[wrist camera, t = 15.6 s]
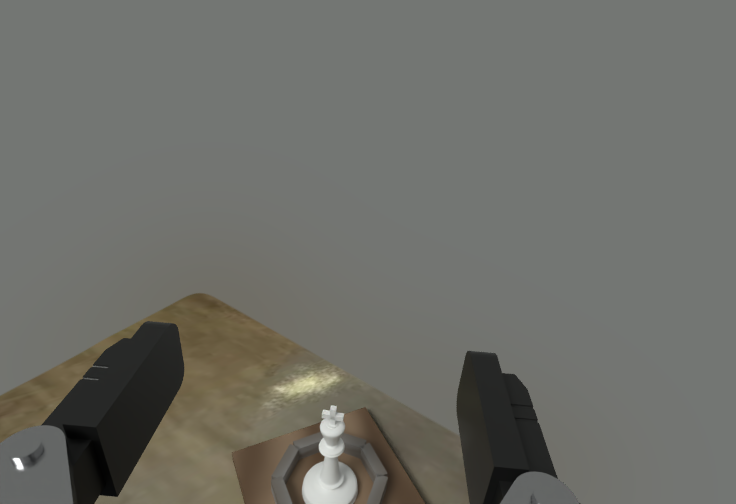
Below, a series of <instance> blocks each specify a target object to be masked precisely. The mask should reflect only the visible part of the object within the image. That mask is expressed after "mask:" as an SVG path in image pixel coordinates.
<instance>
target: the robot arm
mask: <svg viewBox="0 0 736 504" xmlns="http://www.w3.org/2000/svg"><path fill="white" fill-rule="evenodd" d="M183 376H184V362H183V356H182V350H181V343H180V337H179V331H178V327H177V326H176V324H172V323H161V322H150V321H147V322H145V323H143V325H142V326H141V327H140V328H139V329H138V331H137V332H136V333H135V334H134V336H133V337H132V338H131V339H128V338H123V339H122V340H120V341H119V342H117V343H115V344H114V345H112V346H111V347H109V348H108V349H106V350H105V351H104V352H103V354H102V355H101V356H100V357H99V358H98V359H97V361H96V362H95V363H94V364H93V367H91V368H90V369H89V370H88V371H87V372H86V373H85V375H84V376H83V379H82V380H80V381H79V382H78V383H77V384H76V385H75V386H74V388H73V389H72V390H71V391H70V392H69V393H68V395H67V396H66V397H65V398H64V399H63V400H62V402H61V403H60V404H59V405H58V406H57V407H56V409H55V410H54V411H53V412H52V413H51V415H50V416H49V417H48V418H47V419H46V420H45V422H44V423H43V424H42V425H41V426H35V427H31V428H27V429H24V430H22V431H19V432H17V433H15V434H13V435H12V436H10V437H8V438H7V439H5V440H4V441H3V442H1V443H0V504H94V503H95V501H96V500H97V498H98V496H99V495H104V496H115V497H118V495H119V494H120V492H121V490H122V488H123V487H124V485H125V483H126V481H127V480H128V478H129V476H130V474H131V473H132V471H133V469H134V467H135V466H136V464H137V462H138V460H139V459H140V457H141V455H142V453H143V452H144V450H145V448H146V446H147V445H148V443H149V441H150V439H151V438H152V436H153V434H154V432H155V431H156V429H157V427H158V425H159V424H160V422H161V420H162V418H163V417H164V415H165V413H166V411H167V410H168V408H169V406H170V404H171V403H172V401H173V399H174V397H175V396H176V394H177V392H178V390H179V389H180V386H181V384H182V381H183ZM457 418H458V424H459V432H460V439H461V446H462V453H463V460H464V467H465V474H466V481H467V487H468V494H469V501H470V504H580V503H579V502H578V500H577V498H576V496H575V495H574V493H573V492H572V491H571V490H570V489H569V488H568V487H567V486H566V485H565V484H564V483H563V482H561V481H560V480H558V478H557V475H556V473H555V470H554V467H553V464H552V461H551V458H550V455H549V452H548V449H547V446H546V443H545V440H544V437H543V434H542V431H541V428H540V425H539V423H538V422H537V420H538V419H537V416H536V413H535V410H534V409H533V405H532V402H531V399H530V396H529V393H528V390H527V389H526V387H525V386H524V385H523V384H522V382H521V381H520V380H519V379H518V378H517V376H516V375H514V374H505V373H502V372H501V368H500V365H499V361H498V358H497V355H496V354H495V353H486V352H474V351H467V353H466V356H465V361H464V365H463V370H462V375H461V379H460V384H459V388H458V394H457Z"/></svg>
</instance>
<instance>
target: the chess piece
mask: <svg viewBox="0 0 736 504" xmlns="http://www.w3.org/2000/svg"><path fill="white" fill-rule="evenodd" d="M336 411H337V406H332V405H331V408H330V411H328V410H323V412H322V418H325V419H323V420H322V422H321V424H320V431H321V433H322V435H323V437H324V438H322V440H321V441H320V443H319V451H320V453H321V454H322V455H323V456H325V458H324V461H323V462H320V463H318V464H316V465H314V466H313V467H312V468H311V469H310V470H309V471H308V472H307V474H306V475H305V478H304V481H303V485H302V496H303V499H304V502H305V503H306V504H353V503H354V502H355V500H356V497H357V494H358V484H357V479H356V476H355V474H354V472H353V471H352V469H351V468H350V467H348V466H347V465H346V464H344V463H342V462H339V461H338V456H340V455H341V454H342V453H343V451H344V449H345V445H344V442H343V440H342V439H341V438H340V437H341V436H342V434H343V433H344V430H345V423H344V422H343V419H344V413H339V412H336Z"/></svg>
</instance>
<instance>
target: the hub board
mask: <svg viewBox="0 0 736 504" xmlns="http://www.w3.org/2000/svg"><path fill="white" fill-rule="evenodd" d="M343 422H344V423H345V430H344V433H343V434H342V436H341V437H340V438H341V439H342V440H343V442H344V445H345V449H344V451H343V453H342V454H341V455H340V456H338V461H339V462H342V463H344V464H346V465H347V466H348V467H350V468H351V469H352V471H353V472H354V474H355V476H356V479H357V484H358V494H357V497H356V500H355V502H354V503H353V504H425V502H424V501H423V499H422V497H421V496H420V494H419V493H418V491H417V489H416V488H415V486H414V485H413V483H412V481H411V480H410V478H409V477H408V475H407V473H406V472H405V470H404V469H403V467H402V465H401V464H400V462H399V461H398V459H397V457H396V456H395V454H394V452H393V451H392V449H391V448H390V446H389V444H388V443H387V441H386V440H385V438H384V436H383V435H382V433H381V432H380V430H379V428H378V427H377V425H376V424H375V422H374V420H373V419H372V417H371V415H370V414H369V412H368V411H367V409H366V407H364V408H361V409H358V410H355V411H352V412H350V413H347V414H344V419H343ZM320 424H321V422H320V423H317V424H314V425H311V426H309V427H306V428H303V429H300V430H297V431H294V432H291V433H288V434H285V435H282V436H279V437H276V438H273V439H270V440H267V441H265V442H262V443H259V444H256V445H253V446H250V447H247V448H244V449H241V450H238V451H235V452H232V457H233V462H234V466H235V469H236V473H237V477H238V480H239V484H240V488H241V491H242V495H243V498H244V502H245V504H306V503H305V502H304V499H303V496H302V485H303V481H304V478H305V475H306V474H307V472H308V471H309V470H310V469H311V468H312V467H313V466H314V465H316V464H318V463H320V462H323V461H324V458H325V456H323V455H322V454H321V453H320V451H319V443H320V441H321V440H322V438H324V437H323V435H322V433H321V431H320Z"/></svg>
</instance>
